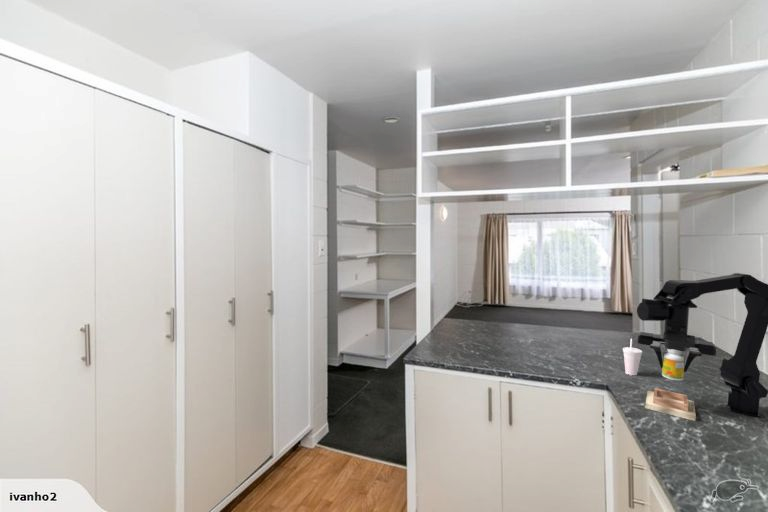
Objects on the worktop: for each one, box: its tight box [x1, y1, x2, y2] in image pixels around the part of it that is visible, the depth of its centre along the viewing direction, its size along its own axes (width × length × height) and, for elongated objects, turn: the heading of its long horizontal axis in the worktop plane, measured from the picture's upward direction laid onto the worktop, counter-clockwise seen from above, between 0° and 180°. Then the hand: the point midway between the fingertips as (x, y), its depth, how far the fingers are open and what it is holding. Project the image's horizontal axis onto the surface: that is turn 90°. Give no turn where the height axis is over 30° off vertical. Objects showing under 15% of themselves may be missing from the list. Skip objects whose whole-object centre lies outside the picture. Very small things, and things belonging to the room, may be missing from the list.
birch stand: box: [644, 387, 697, 422], centre depth 114 cm, size 12×12×4 cm
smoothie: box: [622, 338, 643, 376], centre depth 140 cm, size 6×6×14 cm
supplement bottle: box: [661, 348, 686, 382], centre depth 113 cm, size 5×5×10 cm
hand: (673, 369), depth 113 cm, fingers closed on supplement bottle, 5 cm apart
